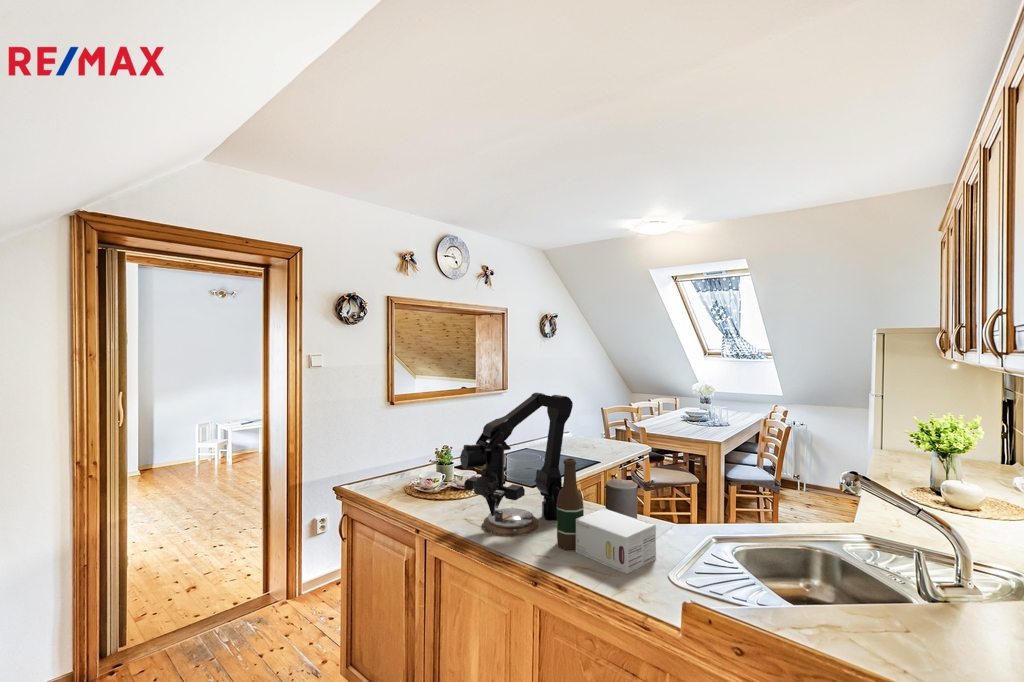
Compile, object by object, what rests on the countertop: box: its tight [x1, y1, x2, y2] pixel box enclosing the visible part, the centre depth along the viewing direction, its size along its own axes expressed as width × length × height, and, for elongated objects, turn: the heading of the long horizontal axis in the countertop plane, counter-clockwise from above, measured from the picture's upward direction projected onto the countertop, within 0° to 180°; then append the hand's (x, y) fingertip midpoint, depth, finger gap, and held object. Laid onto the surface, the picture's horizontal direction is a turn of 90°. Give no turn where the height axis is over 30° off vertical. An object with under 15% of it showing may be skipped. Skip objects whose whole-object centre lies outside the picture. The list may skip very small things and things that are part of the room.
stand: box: [483, 515, 539, 537], centre depth 151 cm, size 17×17×1 cm
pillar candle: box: [604, 478, 639, 519], centre depth 148 cm, size 10×10×15 cm
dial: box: [487, 507, 534, 529], centre depth 151 cm, size 14×14×4 cm
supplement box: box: [575, 508, 657, 575], centre depth 129 cm, size 17×13×9 cm
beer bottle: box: [556, 457, 585, 552], centre depth 135 cm, size 8×8×24 cm
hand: (493, 515), depth 148 cm, fingers closed
